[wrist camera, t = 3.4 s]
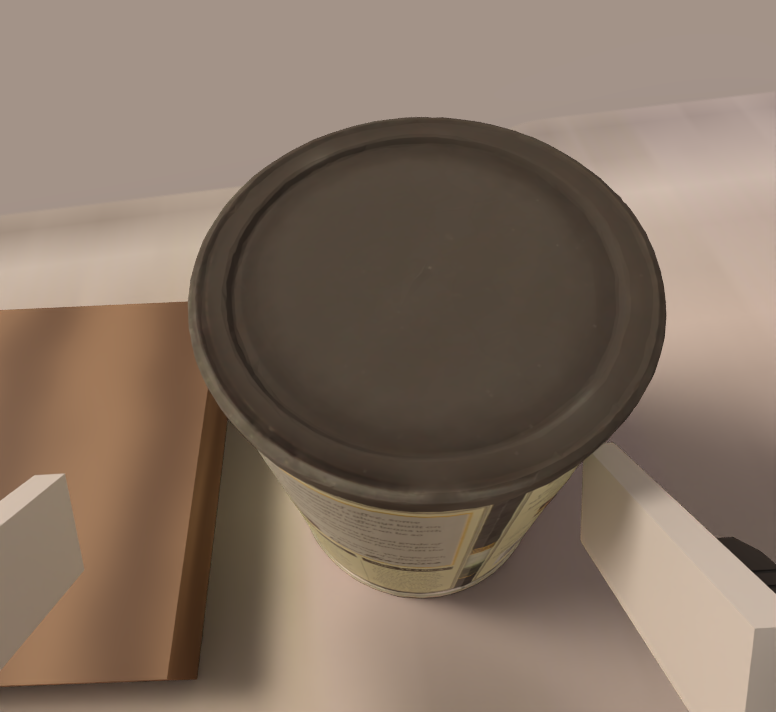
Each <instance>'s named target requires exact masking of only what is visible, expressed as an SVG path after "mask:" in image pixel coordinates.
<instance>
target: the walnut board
mask: <svg viewBox="0 0 776 712" xmlns="http://www.w3.org/2000/svg"><path fill="white" fill-rule="evenodd" d="M227 420H228V418H227V417H226V415H225V414H224V413H223V411H222V410H221V408H220V407H219V405H218V404H217V402H216V400H215V399H214V397H213V396H212V394H211V392H210V391H209V389H208V388H207V386H206V384H205V381H204V379H203V377H202V375H201V373H200V370H199V368H198V365H197V362H196V360H195V356H194V351H193V347H192V342H191V336H190V332H189V323H188V302H169V303H147V304H125V305H103V306H81V307H59V308H38V309H16V310H0V501H1V500H2V499H3V498H5V497H6V496H7V495H9V494H10V493H11V492H13V491H14V490H15V489H17V488H18V487H19V486H21V485H22V484H23V483H25V482H26V481H27V480H29V479H30V478H31V477H33V476H34V475H48V474H65V476H66V481H67V486H68V491H69V496H70V501H71V506H72V511H73V516H74V521H75V526H76V531H77V536H78V541H79V546H80V550H81V555H82V560H83V565H84V571H83V572H82V573H81V575H80V576H79V577H78V578H77V579H76V581H75V582H74V583H73V584H72V585H71V587H70V588H69V589H68V590H67V591H66V593H65V594H64V595H63V596H62V597H61V599H60V600H59V601H58V602H57V603H56V605H55V606H54V607H53V608H52V609H51V611H50V612H49V613H48V614H47V615H46V617H45V618H44V619H43V620H42V621H41V623H40V624H39V625H38V626H37V627H36V629H35V630H34V631H33V632H32V633H31V635H30V636H29V637H28V638H27V639H26V641H25V642H24V643H23V644H22V645H21V647H20V648H19V649H18V650H17V651H16V653H15V654H14V655H13V656H12V657H11V659H10V660H9V661H8V662H7V663H6V665H5V666H4V667H3V668H2V669H1V671H0V687H10V686H36V685H62V684H87V683H113V682H139V681H165V680H190V679H197V675H198V666H199V658H200V649H201V641H202V632H203V624H204V615H205V607H206V598H207V590H208V581H209V573H210V565H211V556H212V548H213V539H214V531H215V522H216V514H217V505H218V497H219V488H220V480H221V471H222V463H223V454H224V446H225V437H226V429H227Z"/></svg>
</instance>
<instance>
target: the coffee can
mask: <svg viewBox="0 0 776 712" xmlns="http://www.w3.org/2000/svg"><path fill="white" fill-rule="evenodd" d="M188 323H189V332H190V336H191V342H192V347H193V351H194V356H195V360H196V362H197V365H198V368H199V370H200V373H201V375H202V377H203V379H204V381H205V384H206V386H207V388H208V389H209V391H210V392H211V394H212V396H213V397H214V399H215V400H216V402H217V404H218V405H219V407H220V408H221V410H222V411H223V413H224V414H225V415H226V417H227V418H228V419H229V420H230V421H231V423H232V424H233V425H234V426H235V427H236V428H237V429H238V430H239V432H240V433H241V434H242V435H243V436H244V437H245V438H246V439H247V440H248V441H249V442H250V443H251V444H252V445H253V446H254V447H255V448H256V449H257V450H258V452H259V453H260V455H261V456H262V458H263V459H264V461H265V462H266V464H267V465H268V466H269V468H270V469H271V471H272V472H273V473H274V475H275V476H276V478H277V479H278V481H279V482H280V484H281V485H282V487H283V488H284V490H285V491H286V493H287V494H288V495H289V497H290V499H291V500H292V501H293V503H294V504H295V506H296V507H297V508H298V510H299V511H300V513H301V514H302V516H303V517H304V519H305V520H306V522H307V523H308V525H309V526H310V529H311V531H312V533H313V535H314V537H315V539H316V541H317V542H318V544H319V545H320V547H321V548H322V549H323V550H324V552H325V553H326V554H327V555H328V556H329V557H330V559H331V560H332V561H333V562H334V563H335V564H336V565H337V566H339V567H340V568H341V569H342V570H343V571H345V572H346V573H347V574H349V575H350V576H351V577H352V578H354V579H356V580H358V581H359V582H361V583H363V584H365V585H367V586H369V587H371V588H374V589H377V590H379V591H382V592H386V593H389V594H392V595H395V596H399V597H417V598H428V597H438V596H444V595H448V594H452V593H455V592H459V591H462V590H464V589H466V588H469V587H471V586H473V585H475V584H477V583H479V582H481V581H482V580H484V579H485V578H487V577H488V576H490V575H492V574H493V573H494V572H495V571H496V570H497V569H498V568H499V567H500V566H501V565H503V563H504V562H505V561H506V560H507V559H508V558H509V557H510V555H511V554H512V553H513V552H514V550H515V549H516V548H517V546H518V545H519V543H520V541H521V539H522V538H523V536H524V534H525V533H526V532H527V531H528V529H529V528H530V527H531V525H532V524H533V523H534V521H535V520H536V519H537V517H538V516H539V515H540V514H541V512H542V511H543V510H544V508H545V507H546V506H547V505H548V504H549V502H550V501H551V500H552V499H553V498H554V497H555V496H556V494H557V493H558V491H559V490H560V489H561V488H562V487H563V485H564V484H565V483H566V482H567V481H568V480H569V478H570V477H571V475H572V474H573V472H574V471H575V469H576V468H577V467H578V465H579V464H580V463H581V462H582V461H584V460H585V459H586V458H587V457H589V456H590V455H591V454H592V453H593V452H595V451H596V450H597V449H598V448H599V447H600V446H601V445H602V444H603V443H604V442H605V441H606V440H608V439H609V437H610V436H611V435H612V434H613V433H614V432H615V431H616V430H617V429H618V428H619V427H620V426H621V424H622V423H623V422H624V421H625V420H626V419H627V418H628V416H629V415H630V413H631V412H632V411H633V409H634V408H635V407H636V405H637V404H638V402H639V400H640V399H641V397H642V395H643V394H644V392H645V390H646V388H647V386H648V384H649V383H650V381H651V379H652V377H653V375H654V373H655V370H656V367H657V364H658V361H659V358H660V354H661V350H662V346H663V342H664V338H665V326H666V301H665V292H664V285H663V280H662V276H661V271H660V268H659V265H658V262H657V259H656V255H655V252H654V250H653V248H652V245H651V243H650V241H649V239H648V237H647V234H646V232H645V231H644V229H643V228H642V226H641V225H640V223H639V221H638V220H637V218H636V216H635V215H634V214H633V212H632V211H631V209H630V208H629V207H628V206H627V204H625V203H624V202H623V201H622V199H621V197H620V196H619V195H617V194H616V193H615V192H614V191H613V190H612V189H611V188H610V187H609V186H608V185H607V184H606V183H605V182H604V181H603V180H602V179H601V178H599V177H598V176H597V175H595V174H594V173H593V172H591V171H590V170H589V169H587V168H586V167H584V166H583V165H582V164H580V163H579V162H577V161H576V160H574V159H573V158H571V157H569V156H568V155H566V154H564V153H563V152H561V151H559V150H557V149H556V148H554V147H552V146H550V145H548V144H546V143H544V142H542V141H540V140H538V139H535V138H533V137H530V136H527V135H524V134H521V133H519V132H516V131H513V130H510V129H506V128H502V127H498V126H495V125H491V124H485V123H481V122H475V121H468V120H461V119H451V118H443V117H442V118H429V117H413V118H412V117H411V118H398V119H389V120H382V121H374V122H370V123H365V124H361V125H356V126H353V127H350V128H346V129H343V130H340V131H336V132H333V133H330V134H328V135H325V136H322V137H320V138H317V139H314V140H312V141H310V142H308V143H306V144H304V145H302V146H300V147H298V148H296V149H294V150H292V151H290V152H289V153H287V154H285V155H284V156H282V157H281V158H279V159H278V160H276V161H274V162H272V163H271V164H270V165H268V166H267V167H265V168H264V169H263V170H261V171H260V172H258V174H256V175H254V176H253V177H252V178H251V179H250V180H249V181H248V182H247V183H246V184H245V185H244V186H243V187H242V188H241V189H240V190H239V191H238V192H237V193H236V194H235V195H234V196H233V197H232V198H231V200H230V201H229V202H228V203H227V204H226V205H225V207H224V208H223V209H222V211H221V212H220V214H219V216H218V217H217V219H216V220H215V221H214V223H213V225H212V226H211V228H210V229H209V231H208V233H207V235H206V237H205V239H204V240H203V242H202V245H201V248H200V250H199V253H198V256H197V258H196V261H195V265H194V269H193V272H192V276H191V280H190V289H189V297H188Z"/></svg>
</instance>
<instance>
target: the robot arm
mask: <svg viewBox="0 0 776 712" xmlns="http://www.w3.org/2000/svg"><path fill="white" fill-rule="evenodd" d="M581 543H582V544H583V546H584V548H585V549H586V551H587V552H588V554H589V555H590V557H591V559H592V560H593V562H594V563H595V565H596V566H597V568H598V570H599V571H600V573H601V574H602V576H603V577H604V579H605V580H606V582H607V584H608V585H609V587H610V588H611V590H612V591H613V593H614V595H615V596H616V598H617V599H618V601H619V602H620V604H621V606H622V607H623V609H624V610H625V612H626V613H627V615H628V617H629V618H630V620H631V621H632V623H633V624H634V626H635V628H636V629H637V631H638V632H639V634H640V635H641V637H642V638H643V640H644V642H645V643H646V645H647V646H648V648H649V649H650V651H651V653H652V654H653V656H654V657H655V659H656V660H657V662H658V664H659V665H660V667H661V668H662V670H663V671H664V673H665V675H666V676H667V678H668V679H669V681H670V682H671V684H672V686H673V687H674V689H675V690H676V692H677V693H678V695H679V697H680V698H681V700H682V701H683V703H684V704H685V706H686V707H687V709H688V711H689V712H776V564H775V563H774V562H773V561H771V560H770V559H769V558H768V557H767V556H766V555H764V554H763V553H762V552H761V551H759V550H757V549H755V548H753V547H751V546H749V545H747V544H745V543H744V542H742V541H740V540H738V539H736V538H734V537H728V538H715V537H714V536H713V535H712V534H711V533H710V532H709V531H708V530H707V529H706V528H705V527H704V526H703V525H701V524H700V523H699V522H698V521H697V520H696V519H695V518H694V517H693V516H692V515H691V514H690V513H689V512H688V511H686V510H685V509H684V508H683V507H682V506H681V505H680V504H679V503H678V502H677V501H676V500H675V499H674V498H673V497H671V496H670V495H669V494H668V493H667V492H666V491H665V490H664V489H663V488H662V487H661V486H660V485H659V484H658V483H656V482H655V481H654V480H653V479H652V478H651V477H650V476H649V475H648V474H647V473H646V472H645V471H644V470H643V469H641V468H640V467H639V466H638V465H637V464H636V463H635V462H634V461H633V460H632V459H631V458H630V457H629V456H628V455H626V454H625V453H624V452H623V451H622V450H621V449H620V448H619V447H618V446H617V445H616V444H615V443H603V444H602V445H601V446H600V447H599V448H598V449H597V450H596V451H595V452H593V453H592V454H591V455H590V456H589V457H587V458H586V459H585V460H584V461H583V479H582V510H581ZM83 571H84V565H83V560H82V555H81V550H80V546H79V541H78V536H77V531H76V526H75V521H74V516H73V511H72V506H71V501H70V496H69V491H68V486H67V481H66V476H65V474H48V475H34V476H33V477H31V478H30V479H29V480H27V481H26V482H25V483H23V484H22V485H21V486H19V487H18V488H17V489H15V490H14V491H13V492H11V493H10V494H9V495H7V496H6V497H5V498H3V499H2V500H1V501H0V671H1V669H2V668H3V667H4V666H5V665H6V663H7V662H8V661H9V660H10V659H11V657H12V656H13V655H14V654H15V653H16V651H17V650H18V649H19V648H20V647H21V645H22V644H23V643H24V642H25V641H26V639H27V638H28V637H29V636H30V635H31V633H32V632H33V631H34V630H35V629H36V627H37V626H38V625H39V624H40V623H41V621H42V620H43V619H44V618H45V617H46V615H47V614H48V613H49V612H50V611H51V609H52V608H53V607H54V606H55V605H56V603H57V602H58V601H59V600H60V599H61V597H62V596H63V595H64V594H65V593H66V591H67V590H68V589H69V588H70V587H71V585H72V584H73V583H74V582H75V581H76V579H77V578H78V577H79V576H80V575H81V573H82V572H83Z"/></svg>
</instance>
